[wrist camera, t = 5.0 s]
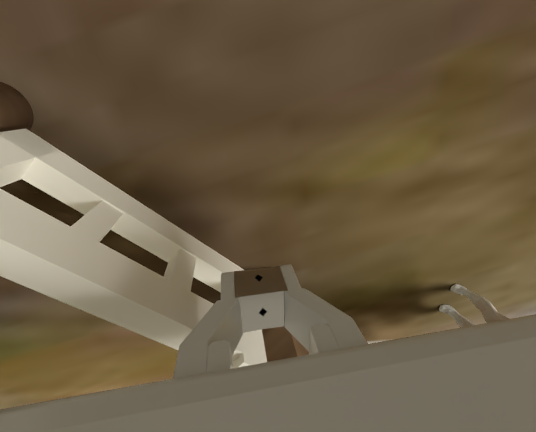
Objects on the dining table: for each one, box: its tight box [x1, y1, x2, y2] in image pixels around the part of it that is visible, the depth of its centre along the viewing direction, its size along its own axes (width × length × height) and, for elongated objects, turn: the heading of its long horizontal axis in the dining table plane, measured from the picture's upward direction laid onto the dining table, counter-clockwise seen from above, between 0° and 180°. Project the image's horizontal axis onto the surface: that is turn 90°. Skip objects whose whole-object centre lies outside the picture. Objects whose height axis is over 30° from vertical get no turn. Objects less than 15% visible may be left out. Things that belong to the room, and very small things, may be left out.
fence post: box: [262, 326, 309, 362], centre depth 15 cm, size 2×2×9 cm
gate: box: [0, 129, 267, 368], centre depth 11 cm, size 14×1×6 cm, turn 46°
